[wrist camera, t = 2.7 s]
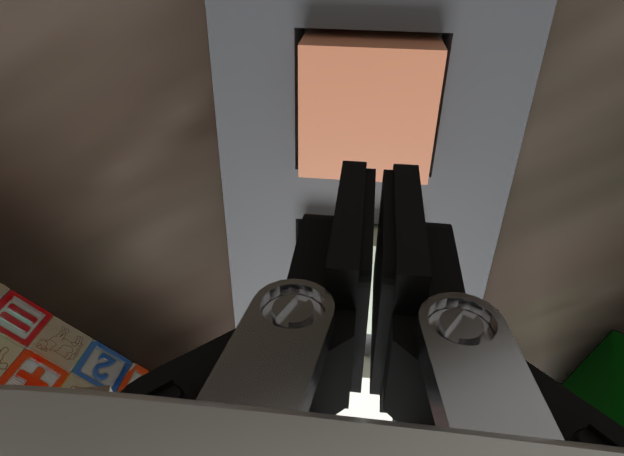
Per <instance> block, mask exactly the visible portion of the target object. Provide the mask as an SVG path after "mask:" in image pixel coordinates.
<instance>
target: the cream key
mask: <svg viewBox="0 0 624 456" xmlns="http://www.w3.org/2000/svg"><path fill="white" fill-rule="evenodd" d="M370 361H371V355H368V354H365V355H364V365H363V376H362V386H361V393H356V392H350V397H349V409H344V410H342V411H341V412H339V413H338V414H336V415H341V416H351V417H360V418H369V419H378V420H387V421H392V419H393V418H392V417H391V416H389V415H388V414H387V413H381V412H380V395H375V394H370Z"/></svg>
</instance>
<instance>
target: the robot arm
mask: <svg viewBox="0 0 624 456" xmlns="http://www.w3.org/2000/svg"><path fill="white" fill-rule="evenodd" d="M366 167H367V162H360V161H344V160H343V163H342V169H341V175H340V181H339V187H338V194H337V200H336V206H335V212H334V216H333V215H319V214H304V215H303V218H302V222H301V226H300V230H299V234H298V238H297V242H296V246H295V249H294V253H293V257H292V261H291V265H290V269H289V273H288V277H287V279H284V280H279V281H276V282H273V283H270V284H268V285H266V286H265V287H263V288H262V289H260V290H259V291H258V292H257V294H256V295H255V296H254V297H253V299H252V301H251V303H250V304H249V306H248V308H247V310H246V311H245V313H244V315H243V317H242V318H241V320H240V322H239V324H238V326H237V327H236V329H234V330H232V331H230V332H228V333H226V334H224V335H222V336H220V337H218V338H216V339H214V340H212V341H210V342H208V343H206V344H204V345H202V346H200V347H198V348H196V349H194V350H192V351H190V352H188V353H186V354H184V355H182V356H180V357H178V358H176V359H174V360H172V361H170V362H168V363H166V364H164V365H162V366H160V367H158V368H156V369H154V370H152V371H150V372H148V373H146V374H144V375H142V376H140V377H139V378H137V379H136V380H134V381H132V382H131V383H129V384H128V385H127V386H126V387H125V388H124V389H123V390H122V391H115V392H112V388H111V385H105V386H94V387H83V388H62V387H45V386H29V385H0V456H624V427H622V426H621V425H620V424H618V423H617V422H615V421H614V420H612V419H611V418H609V417H608V416H606V415H605V414H603V413H602V412H600V411H599V410H598V409H596V408H595V407H593V406H592V405H590V404H589V403H587V402H586V401H584V400H583V399H581V398H580V397H578V396H577V395H576V394H574V393H573V392H571V391H570V390H568V389H567V388H565V387H564V386H562V385H561V384H559V383H558V382H557V381H555V380H554V379H552V378H551V377H549V376H548V375H546V374H545V373H543V372H542V371H540V370H539V369H537V368H536V367H535V366H533V365H532V364H530V363H529V362H527V361H526V360H525V359H524V357H523V355H522V353H521V351H520V349H519V347H518V345H517V343H516V341H515V339H514V336H513V334H512V332H511V330H510V328H509V326H508V324H507V322H506V320H505V319H504V317H503V316H502V315H501V313H500V312H499V310H497V309H496V308H495V307H494V306H492V305H491V304H490V303H488V302H486V301H484V300H483V299H481V298H479V297H476V296H473V295H469V294H466V293H465V288H464V283H463V278H462V273H461V268H460V263H459V258H458V253H457V248H456V243H455V238H454V233H453V228H452V225H451V224H444V223H430V222H425V214H424V205H423V197H422V189H421V180H420V172H419V165H409V164H394V165H393V170H386V169H384V171H383V180H382V190H381V200H380V211H379V221H378V231H377V242H376V252H375V262H374V275H373V301H372V331H371V361H370V394H375V395H380V412H381V413H387V414H388V415H389V416H391V417H392V418H393V419H394V420H395V421H387V420H378V419H369V418H360V417H351V416H341V415H336V414H338V413H339V412H341V411H342V410H344V409H349V397H350V392H356V393H361V386H362V376H363V365H364V355H365V344H366V333H367V323H368V312H369V302H370V291H371V280H372V265H373V238H374V210H375V183H376V169H370V168H366Z"/></svg>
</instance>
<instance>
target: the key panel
mask: <svg viewBox="0 0 624 456" xmlns="http://www.w3.org/2000/svg"><path fill="white" fill-rule="evenodd" d="M556 3H557V0H205V7H206V18H207V29H208V39H209V50H210V61H211V71H212V82H213V93H214V103H215V114H216V125H217V135H218V146H219V157H220V168H221V178H222V189H223V200H224V210H225V221H226V232H227V242H228V253H229V264H230V274H231V285H232V296H233V306H234V317H235V328H236V327H237V326H238V324H239V322H240V320H241V318H242V317H243V315H244V313H245V311H246V310H247V308H248V306H249V304H250V303H251V301H252V299H253V297H254V296H255V295H256V294H257V292H258V291H259V290H260V289H262V288H263V287H265V286H266V285H268V284H270V283H273V282H276V281H279V280H284V279H287V277H288V273H289V269H290V265H291V261H292V257H293V253H294V249H295V246H296V242H297V238H298V234H299V230H300V226H301V222H302V218H303V215H304V214H319V215H333V216H334V212H335V206H336V200H337V194H338V187H339V181H340V180H336V179H320V178H303V177H298V44H299V42H300V40H301V39H302V37H303V35H304V33H305V32H306V30H307V28H318V29H347V30H376V31H405V32H434V33H439V34H440V36H441V38H442V40H443V42H444V44H445V46H446V48H447V50H448V51H447V58H446V65H445V71H444V78H443V85H442V91H441V98H440V105H439V111H438V118H437V125H436V131H435V138H434V145H433V152H432V158H431V165H430V172H429V178H428V185H421V189H422V197H423V205H424V214H425V222H430V223H444V224H451V225H452V228H453V233H454V238H455V243H456V248H457V253H458V258H459V263H460V268H461V273H462V278H463V283H464V288H465V293H466V294H469V295H473V296H476V297H479V298H481V299H483V296H484V292H485V288H486V284H487V280H488V276H489V272H490V268H491V264H492V260H493V256H494V252H495V248H496V244H497V240H498V236H499V232H500V228H501V224H502V220H503V216H504V212H505V208H506V204H507V200H508V196H509V192H510V188H511V184H512V180H513V176H514V172H515V168H516V164H517V160H518V156H519V152H520V148H521V144H522V140H523V136H524V132H525V128H526V124H527V120H528V116H529V112H530V108H531V104H532V100H533V96H534V91H535V87H536V83H537V79H538V75H539V71H540V67H541V63H542V59H543V55H544V51H545V47H546V43H547V39H548V35H549V31H550V27H551V23H552V19H553V15H554V11H555V7H556ZM381 190H382V182H376V183H375V210H374V224H378V221H379V211H380V200H381ZM365 354H368V355H371V334H366V344H365ZM392 421H395V420H394V419H392Z"/></svg>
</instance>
